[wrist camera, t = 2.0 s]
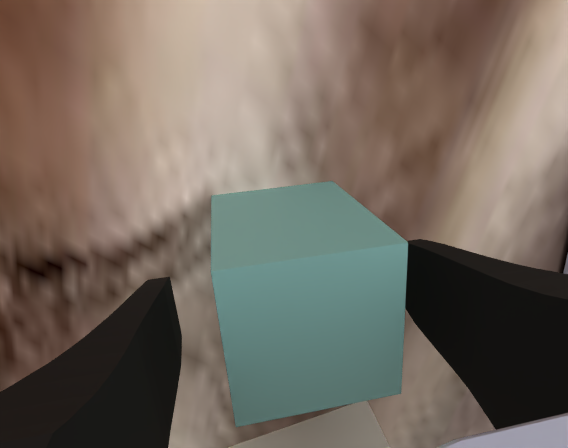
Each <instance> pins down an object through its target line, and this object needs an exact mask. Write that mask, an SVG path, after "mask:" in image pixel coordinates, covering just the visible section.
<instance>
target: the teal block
mask: <svg viewBox="0 0 568 448" xmlns="http://www.w3.org/2000/svg"><path fill="white" fill-rule="evenodd" d="M407 257H408V242H407V241H406V240H404V239H403V238H402V237H401V236H399V235H398V234H397V233H396V232H395V231H393V230H392V229H391V228H390V227H388V226H387V225H386V224H385V223H383V222H382V221H381V220H380V219H379V218H377V217H376V216H375V215H374V214H372V213H371V212H370V211H369V210H367V209H366V208H365V207H364V206H362V205H361V204H360V203H359V202H358V201H356V200H355V199H354V198H353V197H351V196H350V195H349V194H348V193H346V192H345V191H344V190H343V189H341V188H340V187H339V186H338V185H337V184H335V183H334V182H333V181H330V182H321V183H313V184H304V185H296V186H288V187H279V188H271V189H263V190H254V191H246V192H238V193H229V194H221V195H213V196H212V200H211V276H212V282H213V288H214V294H215V301H216V307H217V313H218V319H219V325H220V332H221V338H222V344H223V350H224V356H225V363H226V369H227V375H228V381H229V387H230V394H231V400H232V406H233V412H234V418H235V425H236V427H240V426H245V425H249V424H254V423H259V422H264V421H269V420H274V419H279V418H284V417H289V416H294V415H298V414H303V413H308V412H313V411H318V410H323V409H328V408H333V407H338V406H343V405H348V404H352V403H357V402H362V401H367V400H372V399H377V398H382V397H387V396H392V395H397V394H401V386H402V364H403V343H404V321H405V300H406V279H407Z"/></svg>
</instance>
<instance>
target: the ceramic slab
mask: <svg viewBox="0 0 568 448" xmlns="http://www.w3.org/2000/svg"><path fill="white" fill-rule="evenodd" d="M227 448H390V446H389V444H388V442H387V440H386V438H385V436H384V434H383V432H382V430H381V428H380V425H379V423H378V421H377V419H376V417H375V415H374V413H373V411H372V409H371V407H370V405H369V403H368V401H362V402H357V403H354V404H351V405H348V406H345V407H342V408H339V409H337V410H334V411H331V412H328V413H325V414H322V415H319V416H316V417H314V418H311V419H308V420H305V421H302V422H299V423H296V424H294V425H291V426H288V427H285V428H282V429H279V430H276V431H273V432H271V433H268V434H265V435H262V436H259V437H256V438H253V439H250V440H248V441H245V442H242V443H239V444H236V445H233V446H230V447H227Z"/></svg>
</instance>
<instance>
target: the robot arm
mask: <svg viewBox="0 0 568 448" xmlns="http://www.w3.org/2000/svg"><path fill="white" fill-rule="evenodd" d="M407 242H408V257H407V279H406V300H405V308H406V310H407V311H408V313H409V315H410V316H411V318H412V319H413V321H414V322H415V324H416V325H417V326H418V328H419V329H420V330H421V331H422V332H423V334H424V335H425V336H426V337H427V339H428V340H429V341H430V342H431V343H432V345H433V346H434V347H435V348H436V349H437V351H438V352H439V353H440V354H441V355H442V357H443V358H444V359H445V360H446V361H447V363H448V364H449V365H450V366H451V367H452V368H453V370H454V371H455V372H456V373H457V374H458V376H459V377H460V378H461V379H462V381H463V382H464V383H465V385H466V386H467V387H468V389H469V390H470V391H471V393H472V394H473V396H474V397H475V399H476V400H477V402H478V403H479V405H480V406H481V408H482V409H483V411H484V412H485V414H486V415H487V417H488V418H489V420H490V421H491V423H492V424H493V426H494V428H495V429H496V430H493V431H489V432H484V433H480V434H476V435H471V436H467V437H463V438H459V439H455V440H452V441H450V442H448V443H445V444H443V445H441V446H439V447H436V448H568V254H567V259H566V263H565V268H564V273H557V272H552V271H546V270H541V269H536V268H531V267H526V266H522V265H518V264H514V263H510V262H505V261H501V260H498V259H494V258H490V257H486V256H483V255H479V254H476V253H472V252H469V251H466V250H462V249H459V248H455V247H452V246H448V245H445V244H441V243H437V242H433V241H428V240H422V239H418V240H412V241H407ZM181 351H182V334H181V329H180V324H179V319H178V315H177V310H176V305H175V300H174V295H173V290H172V286H171V281H170V277H164V278H158V279H151V280H147V281H146V282H145V283H144V284H143V285H142V286H141V287H139V288H138V289H137V290H136V291H135V292H134V293H133V294H132V295H131V296H130V297H129V298H128V299H127V300H126V301H125V302H124V303H123V304H122V305H121V306H120V307H119V308H118V309H116V310H115V311H114V312H113V313H112V314H111V315H110V316H109V317H108V318H107V319H105V320H104V321H103V322H102V323H101V324H100V325H98V326H97V327H96V328H95V329H94V330H92V331H91V332H90V333H89V334H88V335H87V336H85V337H84V338H83V339H82V340H80V341H79V342H78V343H76V344H75V345H74V346H72V347H71V348H70V349H68V350H67V351H65V352H64V353H62V354H61V355H60V356H58V357H57V358H55V359H54V360H52V361H51V362H49V363H48V364H46V365H45V366H43V367H42V368H40V369H38V370H37V371H35V372H33V373H32V374H30V375H28V376H27V377H25V378H23V379H22V380H20V381H18V382H17V383H15V384H14V385H12V386H10V387H8V388H7V389H5V390H3V391H1V392H0V448H168V444H169V436H170V430H171V424H172V418H173V412H174V406H175V400H176V394H177V388H178V381H179V375H180V369H181Z"/></svg>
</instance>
